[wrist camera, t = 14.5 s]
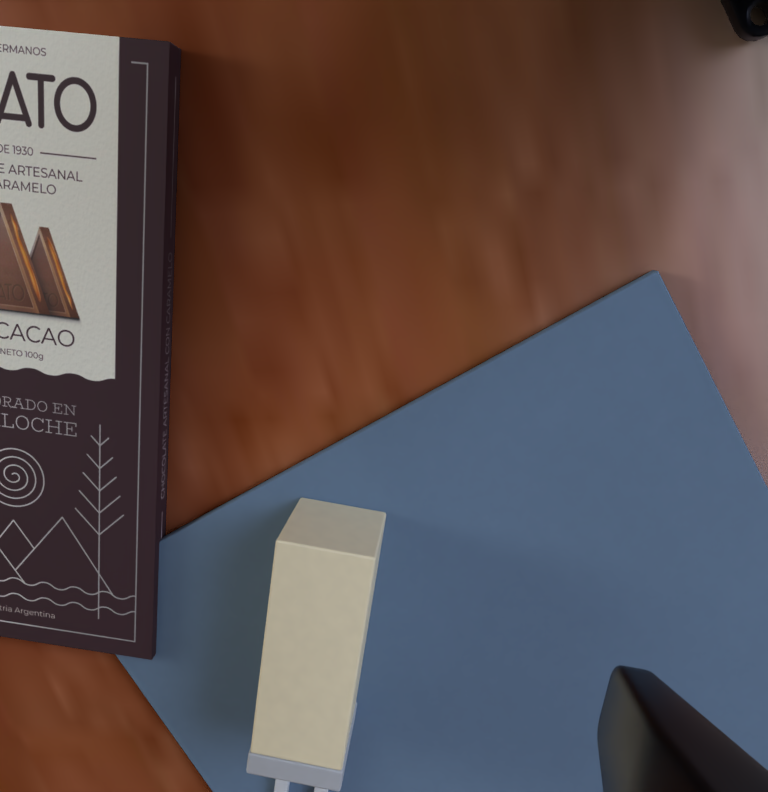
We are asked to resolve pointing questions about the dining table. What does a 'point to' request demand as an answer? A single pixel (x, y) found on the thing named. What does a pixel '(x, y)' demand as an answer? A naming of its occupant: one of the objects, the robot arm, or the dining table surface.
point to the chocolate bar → (85, 334)
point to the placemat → (501, 567)
